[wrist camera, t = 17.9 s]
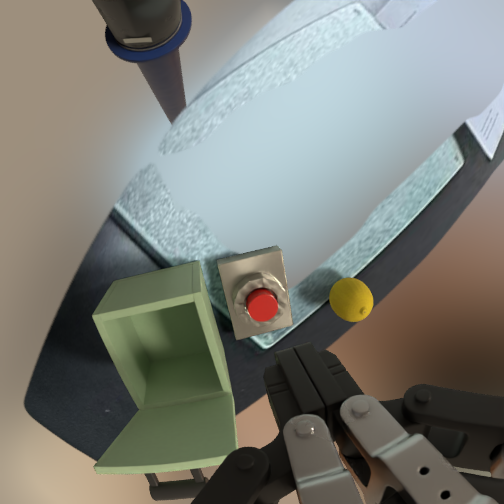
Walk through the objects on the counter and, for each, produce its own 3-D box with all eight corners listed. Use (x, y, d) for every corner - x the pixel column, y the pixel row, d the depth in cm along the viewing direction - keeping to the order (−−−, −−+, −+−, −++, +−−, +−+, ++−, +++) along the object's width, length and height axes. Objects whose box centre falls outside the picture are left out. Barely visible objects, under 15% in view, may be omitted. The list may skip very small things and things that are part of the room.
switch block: (216, 259, 38) (218, 269, 34) (277, 245, 39) (285, 253, 35) (234, 332, 41) (238, 347, 38) (288, 317, 42) (297, 331, 38)
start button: (243, 292, 36) (245, 298, 34) (272, 285, 36) (275, 291, 35) (248, 318, 37) (251, 325, 35) (276, 311, 37) (280, 317, 36)
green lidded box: (113, 280, 36) (91, 315, 27) (199, 260, 38) (201, 291, 28) (147, 364, 40) (139, 410, 31) (223, 348, 42) (232, 394, 32)
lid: (92, 466, 16) (117, 510, 16) (237, 452, 18) (254, 499, 17) (138, 410, 31) (151, 444, 30) (232, 393, 32) (242, 429, 31)
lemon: (313, 289, 42) (337, 315, 34) (341, 262, 41) (370, 282, 34) (334, 312, 44) (359, 338, 36) (360, 286, 43) (389, 308, 36)
